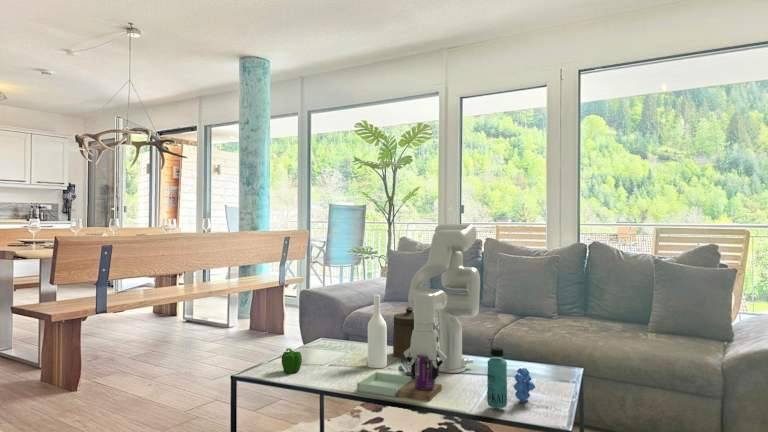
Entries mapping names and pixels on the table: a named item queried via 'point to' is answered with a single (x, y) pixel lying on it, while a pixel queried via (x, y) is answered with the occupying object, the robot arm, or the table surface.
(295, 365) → the bell pepper
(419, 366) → the beverage can
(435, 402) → the table surface
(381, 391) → the tray
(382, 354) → the bottle
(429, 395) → the board
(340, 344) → the table surface
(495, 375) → the beverage bottle
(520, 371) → the grapes
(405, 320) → the wooden container
